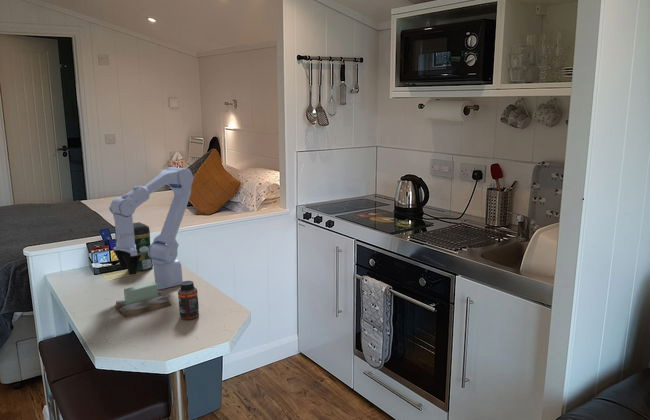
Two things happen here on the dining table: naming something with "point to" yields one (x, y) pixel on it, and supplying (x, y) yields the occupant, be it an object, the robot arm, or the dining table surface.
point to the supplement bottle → (188, 300)
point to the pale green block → (140, 293)
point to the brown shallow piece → (142, 305)
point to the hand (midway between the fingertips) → (128, 271)
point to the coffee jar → (142, 245)
